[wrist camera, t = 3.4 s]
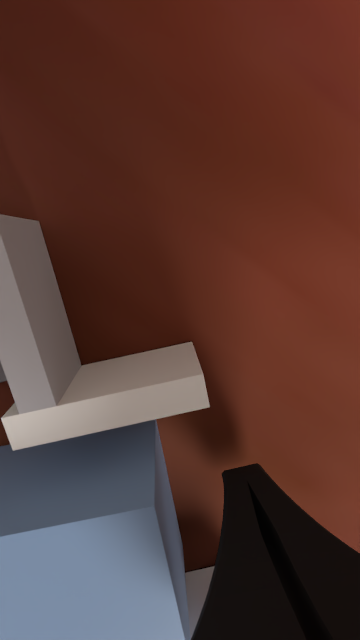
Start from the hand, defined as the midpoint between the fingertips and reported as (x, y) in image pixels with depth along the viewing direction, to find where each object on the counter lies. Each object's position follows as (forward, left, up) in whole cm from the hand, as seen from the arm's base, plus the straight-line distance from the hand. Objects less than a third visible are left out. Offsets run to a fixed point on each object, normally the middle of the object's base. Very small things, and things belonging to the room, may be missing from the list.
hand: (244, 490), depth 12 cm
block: (0, +6, -1) cm, 6 cm away
